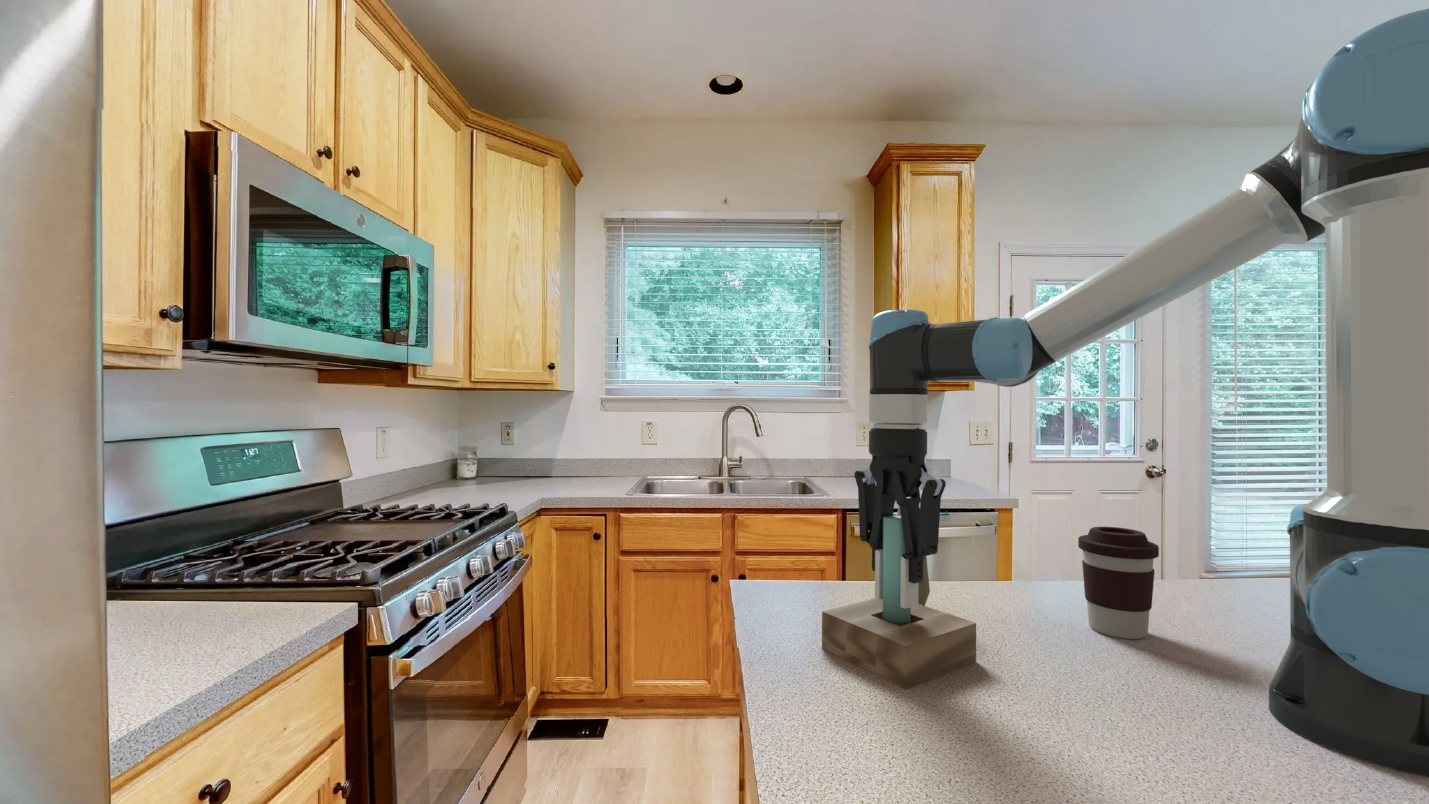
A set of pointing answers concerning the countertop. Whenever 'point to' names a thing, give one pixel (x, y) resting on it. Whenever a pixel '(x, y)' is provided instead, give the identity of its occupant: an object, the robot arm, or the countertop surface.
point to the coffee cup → (1118, 580)
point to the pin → (893, 571)
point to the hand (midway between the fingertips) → (896, 601)
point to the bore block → (899, 641)
